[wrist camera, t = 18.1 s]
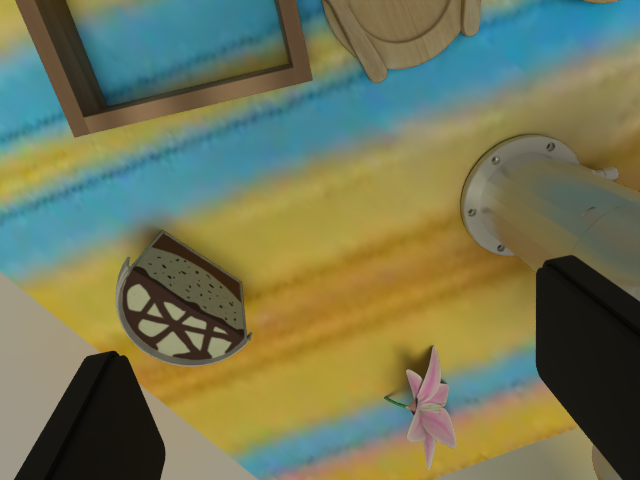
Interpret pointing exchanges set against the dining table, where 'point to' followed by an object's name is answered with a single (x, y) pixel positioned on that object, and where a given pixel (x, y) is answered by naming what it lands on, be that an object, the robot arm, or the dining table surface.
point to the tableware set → (401, 29)
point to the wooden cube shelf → (94, 116)
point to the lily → (429, 410)
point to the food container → (181, 305)
